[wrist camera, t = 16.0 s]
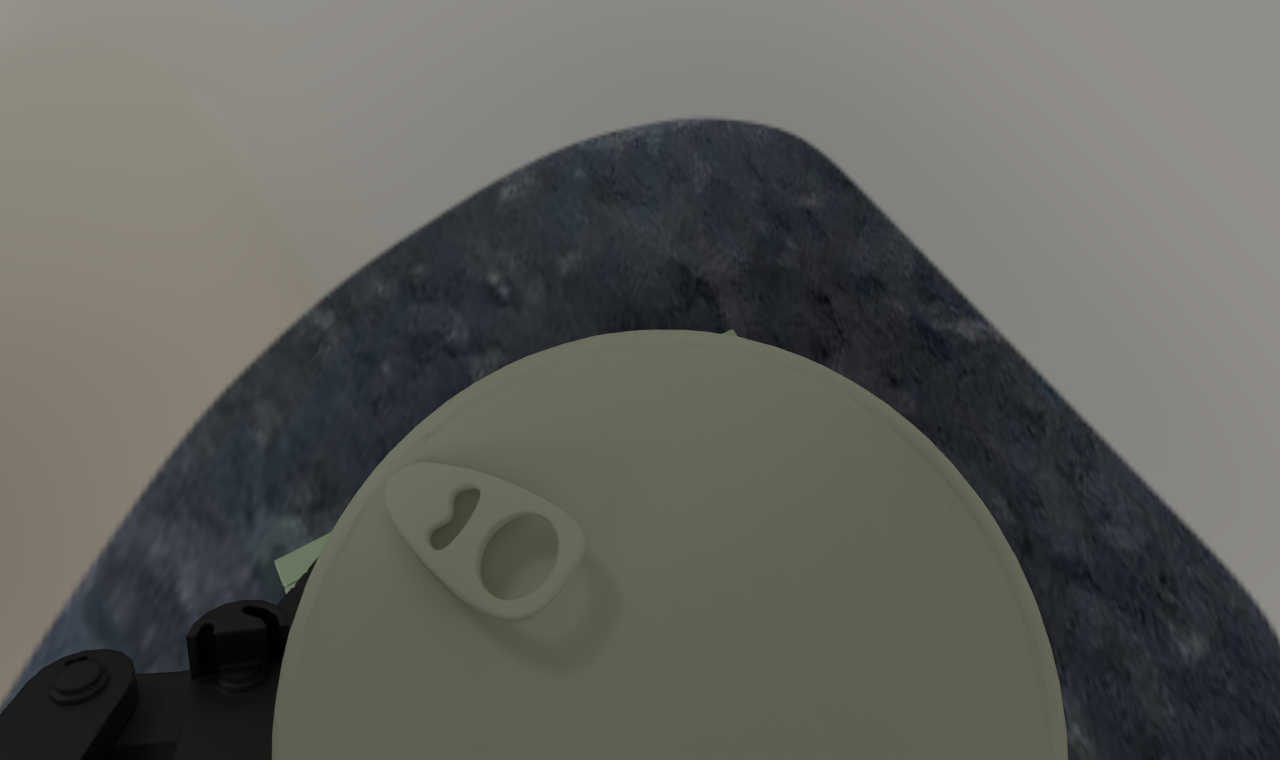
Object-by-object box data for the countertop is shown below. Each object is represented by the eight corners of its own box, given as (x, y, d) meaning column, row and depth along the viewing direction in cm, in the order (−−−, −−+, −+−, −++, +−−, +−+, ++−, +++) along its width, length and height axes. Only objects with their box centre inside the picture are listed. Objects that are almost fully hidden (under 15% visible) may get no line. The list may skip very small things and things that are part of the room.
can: (599, 440, 21) (580, 191, 10) (878, 625, 20) (1220, 568, 9) (389, 729, 18) (42, 819, 7) (697, 976, 17) (857, 1584, 6)
